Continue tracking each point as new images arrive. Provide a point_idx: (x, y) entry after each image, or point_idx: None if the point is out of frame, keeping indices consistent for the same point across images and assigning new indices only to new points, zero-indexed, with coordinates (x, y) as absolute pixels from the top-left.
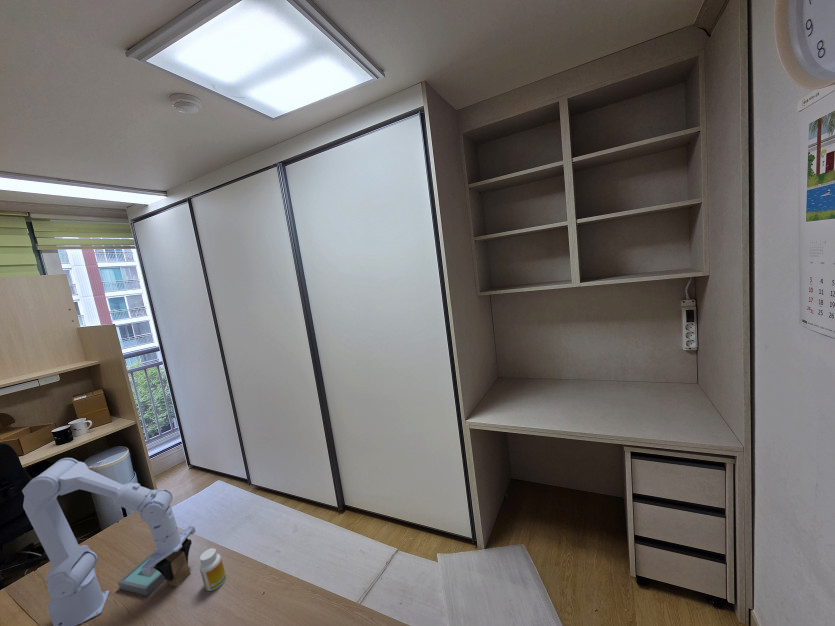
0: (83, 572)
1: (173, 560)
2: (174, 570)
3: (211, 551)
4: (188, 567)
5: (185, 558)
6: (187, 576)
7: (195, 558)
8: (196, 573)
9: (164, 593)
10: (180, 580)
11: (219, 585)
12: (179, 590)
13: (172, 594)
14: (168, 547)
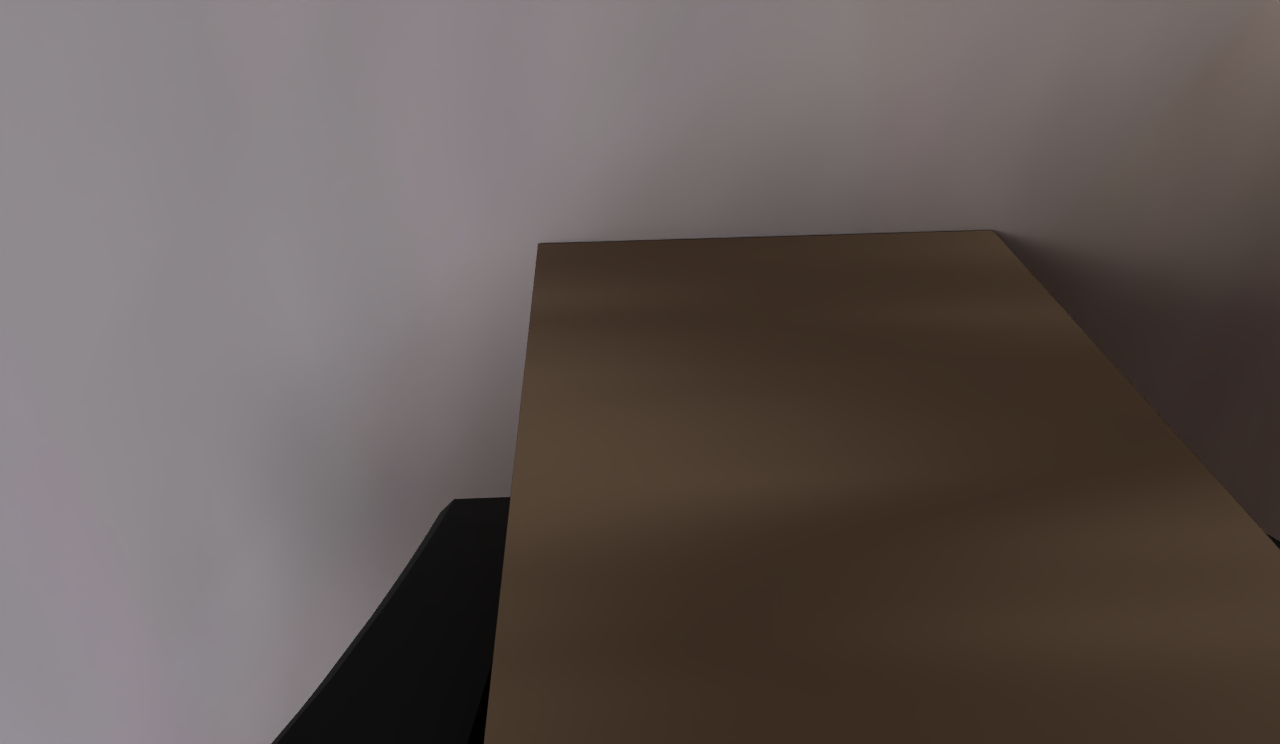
0: None
1: None
2: (1262, 612)
3: None
4: (535, 363)
5: (522, 705)
6: (652, 244)
7: (96, 607)
8: (467, 29)
9: (1205, 434)
10: (906, 273)
11: None
12: (1118, 30)
13: (1251, 144)
14: None
